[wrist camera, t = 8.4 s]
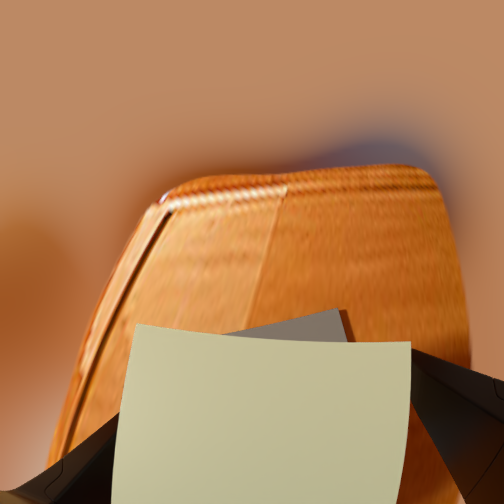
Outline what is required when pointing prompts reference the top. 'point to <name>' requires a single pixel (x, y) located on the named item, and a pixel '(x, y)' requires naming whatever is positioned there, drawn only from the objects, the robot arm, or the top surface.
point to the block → (260, 420)
